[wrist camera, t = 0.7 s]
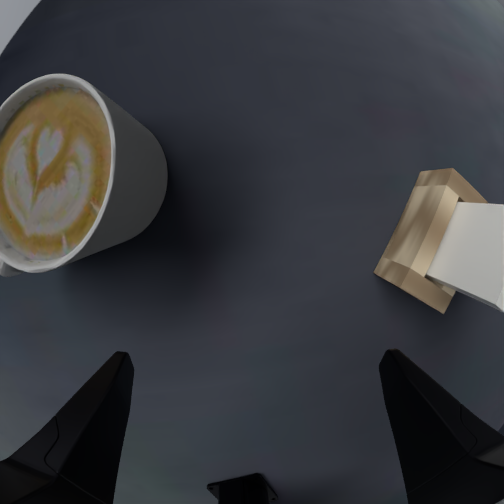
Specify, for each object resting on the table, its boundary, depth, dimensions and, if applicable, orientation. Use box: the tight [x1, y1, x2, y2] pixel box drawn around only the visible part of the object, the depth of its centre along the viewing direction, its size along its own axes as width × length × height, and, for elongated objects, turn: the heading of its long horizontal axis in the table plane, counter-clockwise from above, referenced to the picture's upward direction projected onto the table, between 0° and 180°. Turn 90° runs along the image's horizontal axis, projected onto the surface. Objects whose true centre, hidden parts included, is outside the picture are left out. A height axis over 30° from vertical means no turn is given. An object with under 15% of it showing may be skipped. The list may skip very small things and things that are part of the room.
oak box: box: [373, 168, 488, 314], centre depth 21 cm, size 10×5×4 cm, turn 152°
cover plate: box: [424, 202, 504, 313], centre depth 17 cm, size 6×2×11 cm, turn 153°
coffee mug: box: [0, 74, 168, 277], centre depth 16 cm, size 13×10×10 cm
